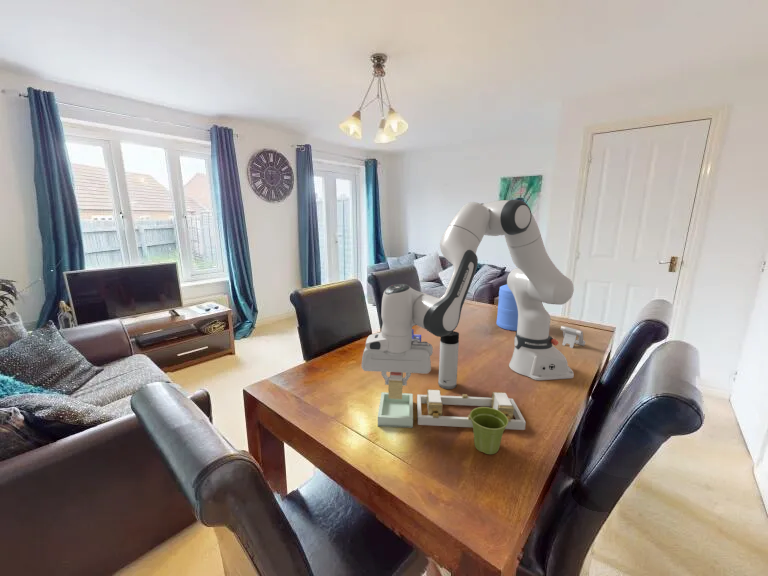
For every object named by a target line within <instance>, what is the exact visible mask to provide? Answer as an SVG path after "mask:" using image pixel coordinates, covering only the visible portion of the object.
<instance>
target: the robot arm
mask: <svg viewBox="0 0 768 576" xmlns="http://www.w3.org/2000/svg"><path fill="white" fill-rule="evenodd" d="M484 236H487V237H488V236H491V237H498V236H504V238H505V242H506V245H507V247H508V251H509V254H510V257H511V260H512V262H513V264H514V265H515V266H516V268H515V267H514V268H513V269H512V270H511V271H510V272H509V273H508V275H507V279H506V284H507V285H508V287H509V289H510V290H511V291H512V293H513V295H514V298H515V301H516V304H517V309H518V326H517V331H515V336H514V344H513V345H514V348H513V353H512V356H511V359H510V361H509V363H508V366H509V368H510V369H511V370H512V371H514V372H515V373H517V374H519V375H521V376H522V375H523V376H525V377H529V378H531V379H532V380H534V381H547V380H566V379H573V378H574V375H575V373H574V371H573V370H572V368H571V367H570V366H569V365H568V361H567V358H566V356H565V355H564V354H563V353H562V352H561V351H560V350H559V349H558V348H556V347H555V346H558V345H559V341H558V340H557V339H556V338H554V337H552V336H551V335H550V328H551V327H550V326H551V316H550V314H549V312H548V311H547V310H546V309H545V307H544V303H545V304H548V305H562V306H563V305H565V304H566V303H568V302H569V301H570V300H571V299H572V296H573V295H574V290H575V289H574V288H575V287H574V283H573V282H572V280H571V279H570V278H568V277H567V276H566V275H565V274H564V273H562V272H561V271H560V269H558V268H557V266H556V265H555V264H554V262H553V261H552V259H551V257H550V256H549V255H548V253H547V250H546V247H545V244H544V241H543V237H542V234H541V231H540V229H539V226H538V223H537V221H536V218H535V217H534V215H533V213H532V210H531V208H530V206H529V205H528V204H527V202H525V201H524V200H519V199H510V200H507V199H506V200H505V199H504V200H503V199H501V200H494V201H490V202H485V203H483V202H482V203H480V202H475V201H470V202H467V203H465V204H464V205H463V206H461V208H460V209H459V210H458V211H457V213H455V215H454V217H453V218H452V219H451V220H450V222H449V224H448V226H447V228H446V229H445V231H444V233H443V234H442V236H441V239H440V242H439V249H440V251H441V254H442V256H443V257H444V258H445V259H446V260H447V261H448V262H449V263H450V264H451V265H452V267H453V271H452V274H451V277H450V279H449V282H448V285H447V287H446V290H445V292H444V294H443V295H442V296H441V297H436V296H434V295H431V294H428V293H424V292H422V291H418V290H416V289H414V288H412V287H411V286H410V285H408V284H406V283H396V284H392V285H389V286H387V287H386V288H385V290H384V291H383V293H382V294H383V295H382V298H381V309H380V310H381V311H380V312H381V315H380V316H381V320H382V326H381V331H380V332H376V333H372V334H369V335H368V337H367V338H366V339H365V347H364V349H363V353H362V356H361V357H362V358H361V359H362V360H361V369H362V370H363V371H364V372H380V374H381V376H382V378H383V379H384V384H385V385H386V386H389V379H390V376H388V375H387V373H390V372H403V374H405V376H404V377H403V378H402V385H403V386H404V387H405V386H408V385H407V384H408V380H409V379H410V378H411V375H412V374H429V373H430V372H431V371H432V364H431V363H432V362H431V356H432V355H433V353H434V352H433V351H434V349H433V346H432V344H431V343H429V342H428V341H421V342H418V341H412V329H413V327H414V326H418V327H419V328H422V329H424V330H426V331H427V332H429V333H430V334H432V335H433V336H436V337H437V338H439V337H440V338H441V337H443V336H446V335H448V334H450V333H451V332H453V331H455V330H456V328H458V325H459V323H460V319H461V315H462V309H463V306H464V303H465V301H466V298H467V295H468V293H469V290H470V287H471V286H472V282H473V281H474V277H475V274H476V271H477V268H478V264H479V263H478V262H479V261H478V260H479V258H478V255H477V250H478V248H479V246H480V244H481V242H482V240H483V238H484Z"/></svg>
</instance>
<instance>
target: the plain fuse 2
mask: <svg viewBox="0 0 768 576" xmlns="http://www.w3.org/2000/svg"><path fill="white" fill-rule="evenodd" d="M491 393H492V395H491V398H492V402H491V407H490V408H493V409H496V410H499V411H501V412H502V413H503V414H505V416H508V417H510V419H514V415H513V411H514V408H513V406H512V404H511V402H510V400H509V397H508V395H507V393H506V392H503V391H502V392H501V391H492V392H491Z"/></svg>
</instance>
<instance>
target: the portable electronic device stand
mask: <svg viewBox="0 0 768 576" xmlns="http://www.w3.org/2000/svg"><path fill="white" fill-rule="evenodd" d="M560 331H562V334H563V340H562V343H561V344H562V345H561V346H564V347H565V346H566V345H567V344H568V345H569V348H570V349H573V348H574V346H575V344H576V345H580V346H583V347H585V345H586V340H584V331H583V330H579V329H577V328H572V327H569V326H565V325H561V326H560ZM577 337H578V339H577Z"/></svg>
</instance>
